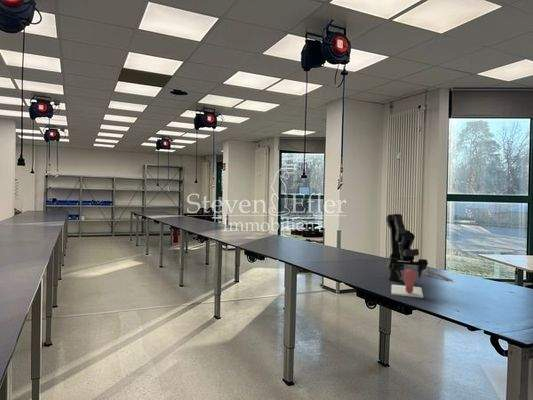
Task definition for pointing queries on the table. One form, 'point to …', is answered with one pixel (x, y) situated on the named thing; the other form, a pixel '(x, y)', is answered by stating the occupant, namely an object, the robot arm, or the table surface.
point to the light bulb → (409, 279)
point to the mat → (402, 291)
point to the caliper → (435, 274)
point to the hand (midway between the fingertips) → (410, 277)
